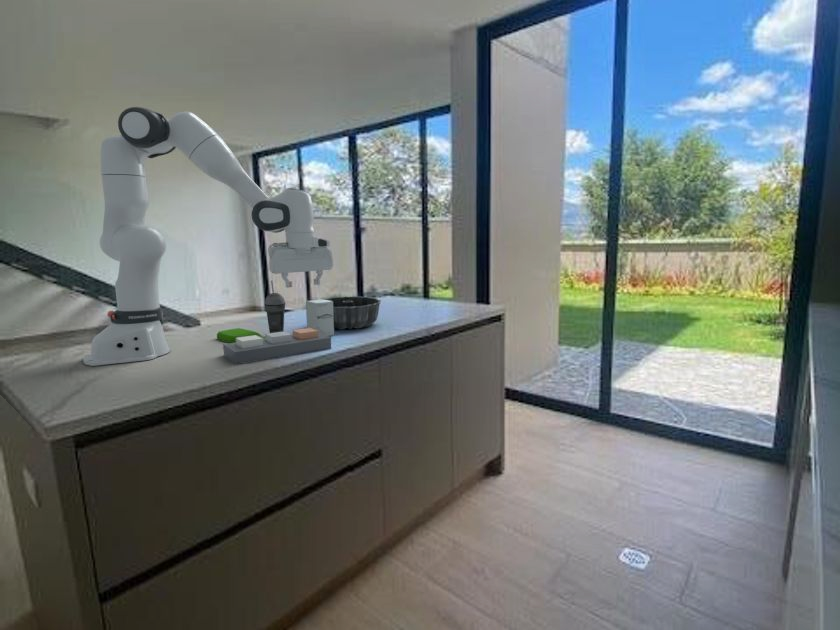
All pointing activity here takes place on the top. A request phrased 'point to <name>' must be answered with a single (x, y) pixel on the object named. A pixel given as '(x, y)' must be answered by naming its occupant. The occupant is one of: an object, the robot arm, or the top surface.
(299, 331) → the terracotta key
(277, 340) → the grey key
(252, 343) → the ivory key
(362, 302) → the bundt pan
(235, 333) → the green rounded slab
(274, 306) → the beverage cup
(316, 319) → the supplement box
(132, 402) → the top surface
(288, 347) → the keypad
